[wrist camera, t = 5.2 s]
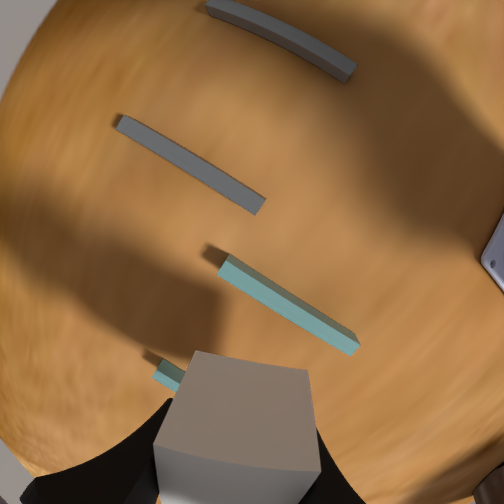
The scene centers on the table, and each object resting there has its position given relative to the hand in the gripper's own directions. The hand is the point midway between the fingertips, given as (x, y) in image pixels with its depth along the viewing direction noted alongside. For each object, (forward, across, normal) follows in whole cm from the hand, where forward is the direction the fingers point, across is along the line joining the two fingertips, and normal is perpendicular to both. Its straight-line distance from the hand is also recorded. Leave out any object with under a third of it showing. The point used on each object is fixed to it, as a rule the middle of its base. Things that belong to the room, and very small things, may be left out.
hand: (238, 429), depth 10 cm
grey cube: (+1, 0, 0) cm, 1 cm away
